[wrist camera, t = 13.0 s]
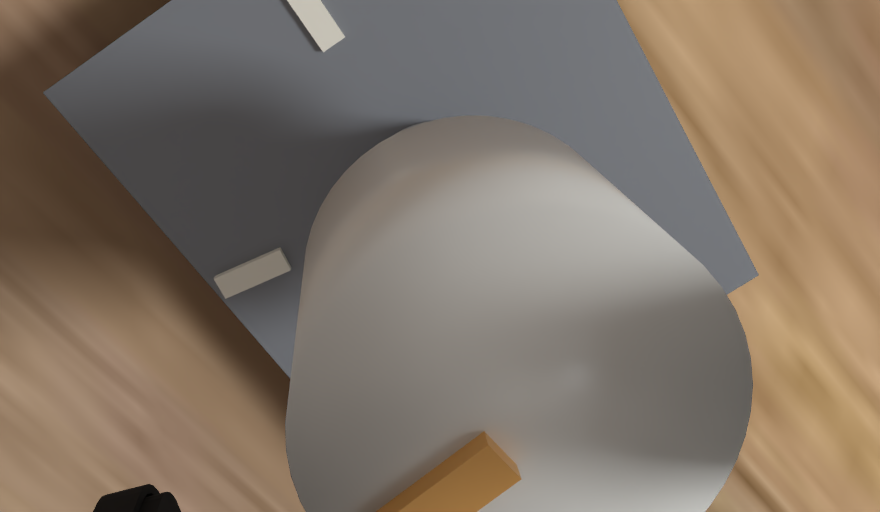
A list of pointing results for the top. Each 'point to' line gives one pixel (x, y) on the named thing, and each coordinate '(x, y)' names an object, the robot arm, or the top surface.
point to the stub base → (365, 121)
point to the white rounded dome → (506, 338)
